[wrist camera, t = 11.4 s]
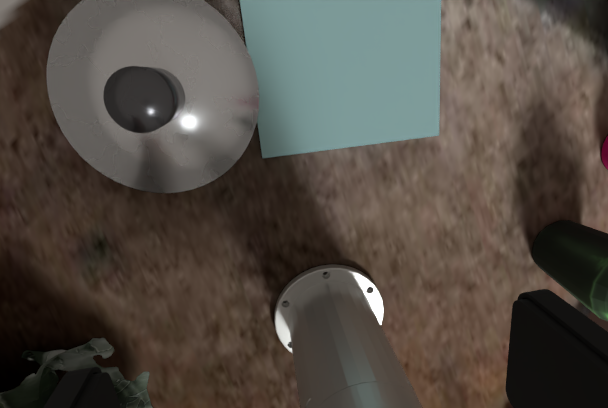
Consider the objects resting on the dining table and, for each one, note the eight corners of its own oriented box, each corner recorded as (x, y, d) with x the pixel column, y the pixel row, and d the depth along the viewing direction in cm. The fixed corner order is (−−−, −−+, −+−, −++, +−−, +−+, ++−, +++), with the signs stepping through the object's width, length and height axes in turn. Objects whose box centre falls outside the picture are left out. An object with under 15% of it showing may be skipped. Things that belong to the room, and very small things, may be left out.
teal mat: (437, 134, 39) (439, 135, 39) (262, 157, 37) (262, 158, 37) (440, -73, 33) (442, -75, 32) (231, -56, 31) (231, -57, 31)
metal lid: (271, 176, 32) (275, 197, 27) (87, 202, 31) (51, 229, 25) (242, -26, 27) (239, -52, 21) (21, -6, 26) (-42, -27, 20)
